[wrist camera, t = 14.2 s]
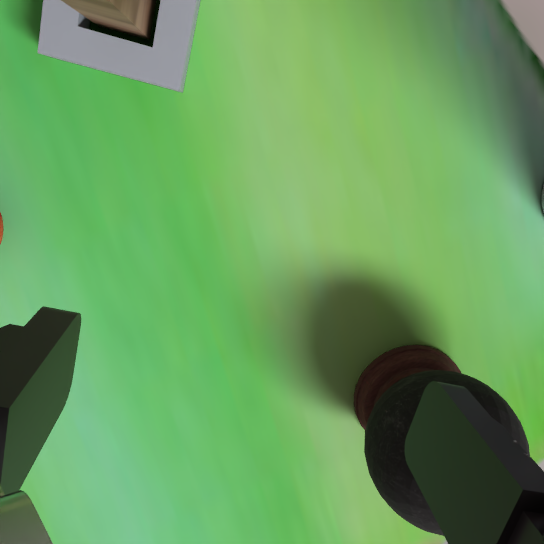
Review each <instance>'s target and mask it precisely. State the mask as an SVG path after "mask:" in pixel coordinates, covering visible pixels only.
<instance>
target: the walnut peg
mask: <svg viewBox="0 0 544 544" xmlns="http://www.w3.org/2000/svg"><path fill="white" fill-rule="evenodd" d="M61 1H63V2H64V3H66V4H67V5H68V6H70V7H71V8H73V9H74V10H76V11H77V12H79V13H80V14H82V15H83V16H85V17H86V18H88V19H89V20H90V21H92V22H93V23H95V24H96V25H98V26H99V27H103V28H106V29H110V30H114V31H117V32H121V33H125V34H129V35H132V36H136V37H140V38H143V39H147V40H151V33H152V27H153V20H154V14H155V7H156V1H157V0H61Z"/></svg>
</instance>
